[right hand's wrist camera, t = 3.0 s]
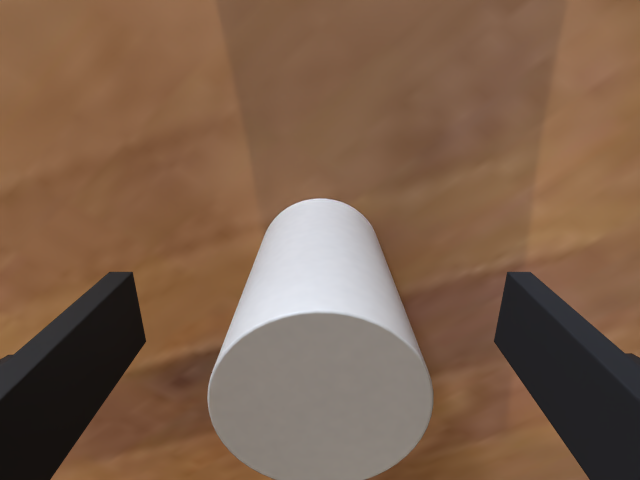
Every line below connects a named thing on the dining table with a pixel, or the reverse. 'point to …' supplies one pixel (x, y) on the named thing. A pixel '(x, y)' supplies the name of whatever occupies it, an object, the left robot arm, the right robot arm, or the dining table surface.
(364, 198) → the dining table surface
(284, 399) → the cylinder
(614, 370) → the right robot arm
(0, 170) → the dining table surface
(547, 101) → the dining table surface
